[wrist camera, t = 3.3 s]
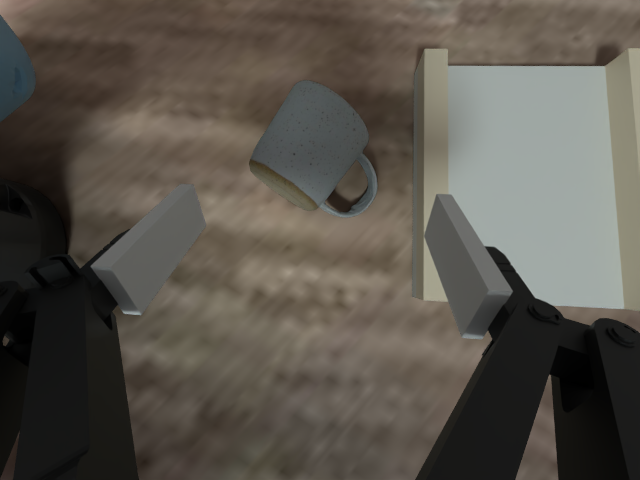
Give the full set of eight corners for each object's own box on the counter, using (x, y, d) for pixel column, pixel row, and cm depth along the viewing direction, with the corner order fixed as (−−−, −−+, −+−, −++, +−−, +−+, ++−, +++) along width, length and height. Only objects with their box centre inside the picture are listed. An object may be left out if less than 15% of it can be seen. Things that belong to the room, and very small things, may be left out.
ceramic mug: (256, 183, 27) (226, 150, 19) (301, 117, 27) (289, 58, 20) (346, 241, 26) (353, 229, 18) (391, 171, 26) (416, 131, 19)
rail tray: (412, 296, 25) (423, 300, 21) (414, 74, 27) (424, 48, 24) (634, 308, 24) (680, 314, 20) (614, 75, 26) (653, 48, 23)
